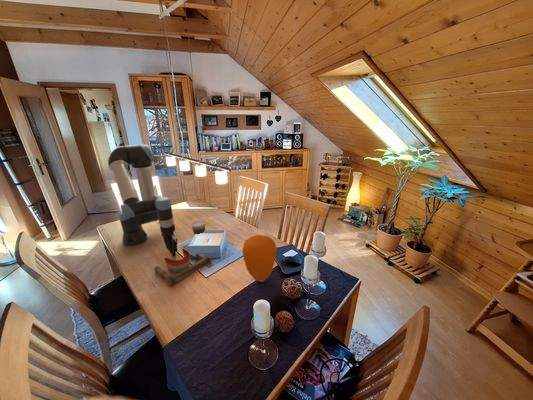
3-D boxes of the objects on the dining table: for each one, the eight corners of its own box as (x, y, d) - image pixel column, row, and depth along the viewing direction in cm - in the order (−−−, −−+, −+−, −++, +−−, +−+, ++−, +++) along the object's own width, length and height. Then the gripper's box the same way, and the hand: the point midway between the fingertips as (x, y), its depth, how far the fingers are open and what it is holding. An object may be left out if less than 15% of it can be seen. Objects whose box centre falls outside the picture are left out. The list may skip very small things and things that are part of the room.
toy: (177, 277, 122) (175, 265, 119) (166, 270, 127) (164, 258, 124) (196, 265, 131) (194, 254, 128) (185, 259, 137) (183, 248, 134)
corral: (153, 274, 124) (152, 268, 123) (193, 252, 144) (192, 247, 142) (170, 287, 115) (169, 281, 113) (210, 262, 134) (210, 256, 132)
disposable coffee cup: (203, 243, 154) (201, 227, 149) (190, 241, 155) (188, 226, 151) (209, 236, 162) (207, 221, 158) (197, 234, 164) (195, 220, 160)
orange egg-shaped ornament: (246, 268, 128) (244, 230, 119) (276, 269, 127) (276, 230, 118) (242, 291, 112) (239, 248, 103) (276, 291, 111) (276, 248, 102)
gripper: (154, 224, 126) (162, 259, 134) (167, 230, 119) (174, 267, 127) (167, 219, 131) (173, 253, 140) (179, 225, 124) (185, 261, 133)
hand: (174, 260), depth 134 cm, fingers closed
